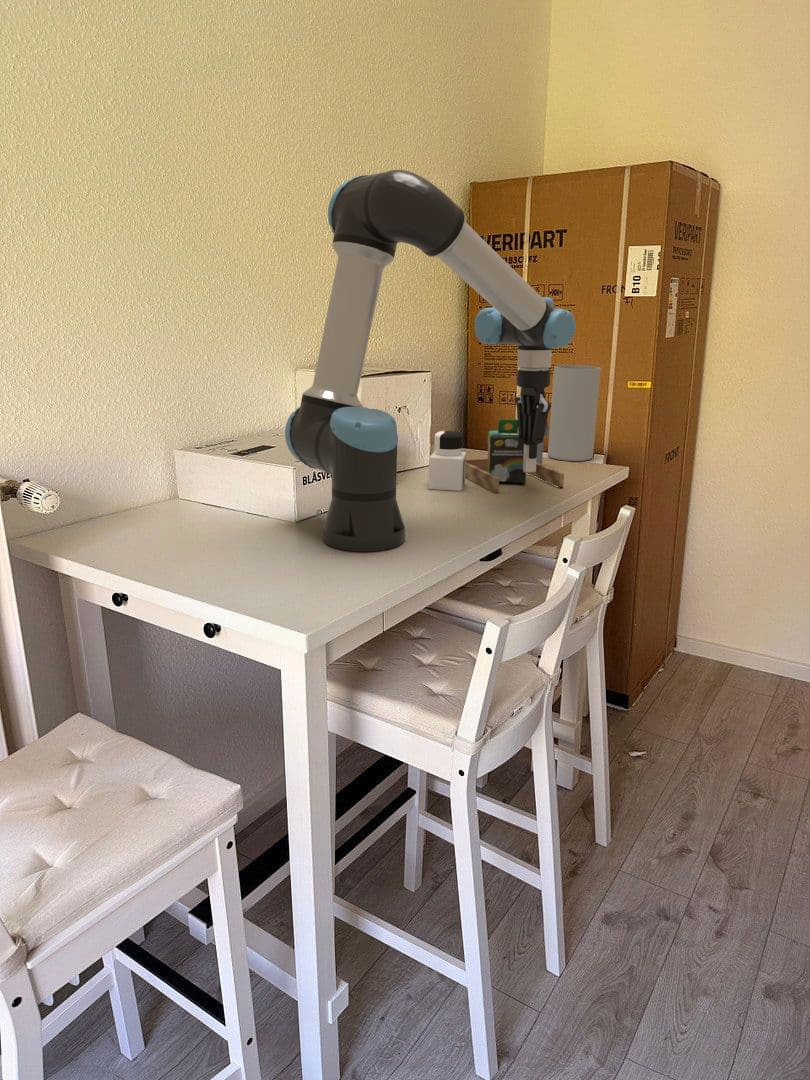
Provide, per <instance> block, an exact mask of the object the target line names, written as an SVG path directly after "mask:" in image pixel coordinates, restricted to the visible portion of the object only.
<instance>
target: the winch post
mask: <svg viewBox="0 0 810 1080" xmlns="http://www.w3.org/2000/svg"><path fill="white" fill-rule="evenodd" d="M548 433H549V423H548V421H547V423H546V429H545V434H544V438H545V437H547V434H548ZM544 441H545V439H544V440H543V443H539V444H538V445H537V459H536V462H537V463H539V464H541V465H543V456H544V455H543V453H544Z"/></svg>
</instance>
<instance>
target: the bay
mask: <svg viewBox="0 0 810 1080" xmlns="http://www.w3.org/2000/svg"><path fill="white" fill-rule="evenodd" d="M487 468H488V457H486V458H474V459H473V458H472V459H466V469H465V479H467V480H469V481H470V480H471V482H472V483H474V484H476V483H477V484H476V485H478V484H479V485H478V486H480V485H481V486H480V487H482V486H483V487H482V488H484V487H485V488H484V489H486V488H487V489H489V490H491V491H493V492H498V493H499V489H500V487H499V486H500V482H499V478H498V477H496V476H494V475H492V474H490V473H488V472H487ZM526 473H528V474H531V475H533V476H536V477H538V478H540V479H542V480H544V481H547V482H549V483H551V484H553V485H556V486H558V487H563V488H564V479H565V473H564V472H561V471H558V470H556V469H554V468H551V467H549V466H546V465H543V464H542V465H541V464H539V463H537V462H536V472H526ZM528 474H527V475H528ZM544 481H543V482H544ZM553 485H552V486H553ZM487 489H486V490H487ZM489 490H488V491H489ZM491 491H490V492H491ZM493 492H492V493H493Z"/></svg>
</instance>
